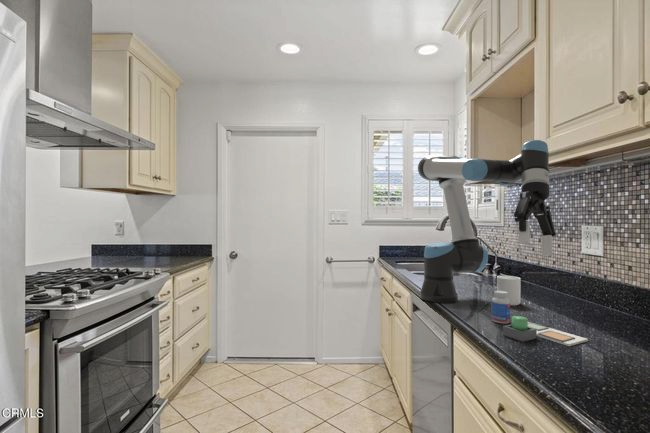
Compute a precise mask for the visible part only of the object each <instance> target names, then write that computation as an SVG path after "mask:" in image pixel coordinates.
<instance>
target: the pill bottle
mask: <svg viewBox="0 0 650 433" xmlns="http://www.w3.org/2000/svg"><path fill="white" fill-rule="evenodd" d="M493 295H494V296H493V298H492V299H491V321H492V322H494V323H497V324H503V325H504V324H505V325H506V324H509V323H510V322H511V305H510V300H509V299H507V297H508V292H505V291H497V290H494V293H493Z"/></svg>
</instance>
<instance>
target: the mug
mask: <svg viewBox="0 0 650 433" xmlns="http://www.w3.org/2000/svg"><path fill="white" fill-rule="evenodd" d="M496 277H497V278H496V291H505V292H508V297H507V299H509V300H510V306H519V305H520V304H521V292H522V290H521V289H522V288H521V283H522V282H521V279H522V278H521V277H518V276H514V275H497V276H496Z"/></svg>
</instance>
